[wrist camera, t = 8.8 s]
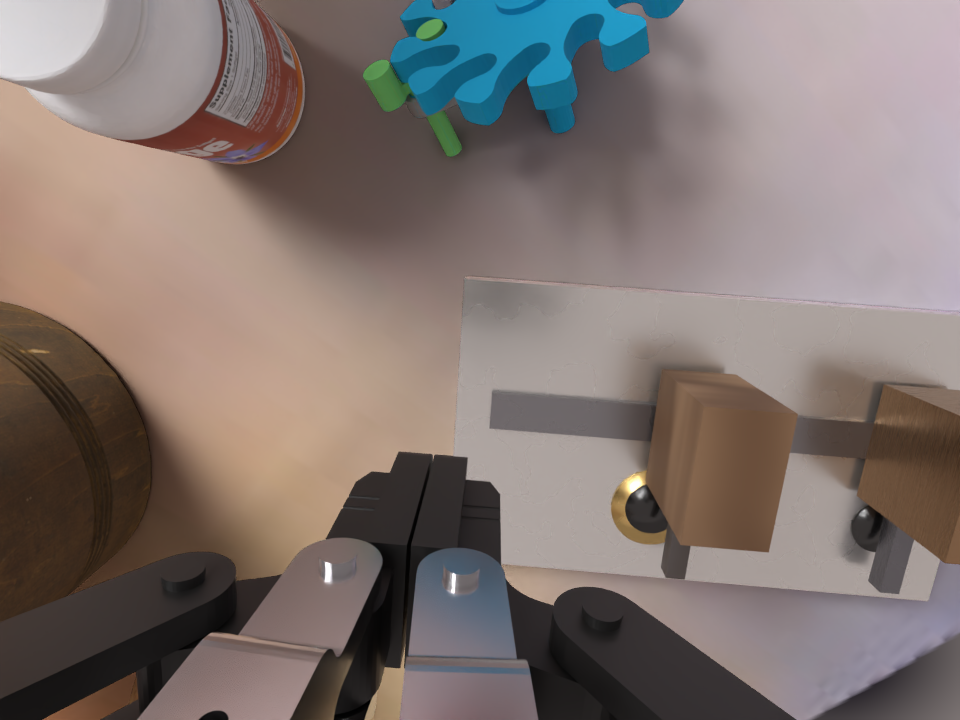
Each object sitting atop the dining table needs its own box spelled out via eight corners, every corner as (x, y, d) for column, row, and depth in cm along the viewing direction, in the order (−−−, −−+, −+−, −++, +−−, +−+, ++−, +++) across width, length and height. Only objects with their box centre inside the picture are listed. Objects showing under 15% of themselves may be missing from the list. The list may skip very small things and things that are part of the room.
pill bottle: (149, 136, 24) (-146, 61, 13) (180, -19, 22) (-122, -248, 12) (288, 188, 24) (112, 156, 13) (328, 38, 23) (166, -135, 12)
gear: (638, -160, 19) (737, -15, 14) (654, 8, 24) (733, 162, 19) (355, -21, 22) (351, 144, 17) (421, 106, 27) (433, 264, 22)
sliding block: (633, 559, 25) (664, 639, 20) (661, 368, 23) (703, 406, 18) (701, 565, 25) (748, 647, 20) (736, 374, 23) (798, 414, 18)
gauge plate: (450, 541, 28) (432, 640, 21) (466, 275, 25) (452, 293, 18) (905, 581, 27) (1035, 696, 20) (979, 313, 24) (1160, 346, 17)
